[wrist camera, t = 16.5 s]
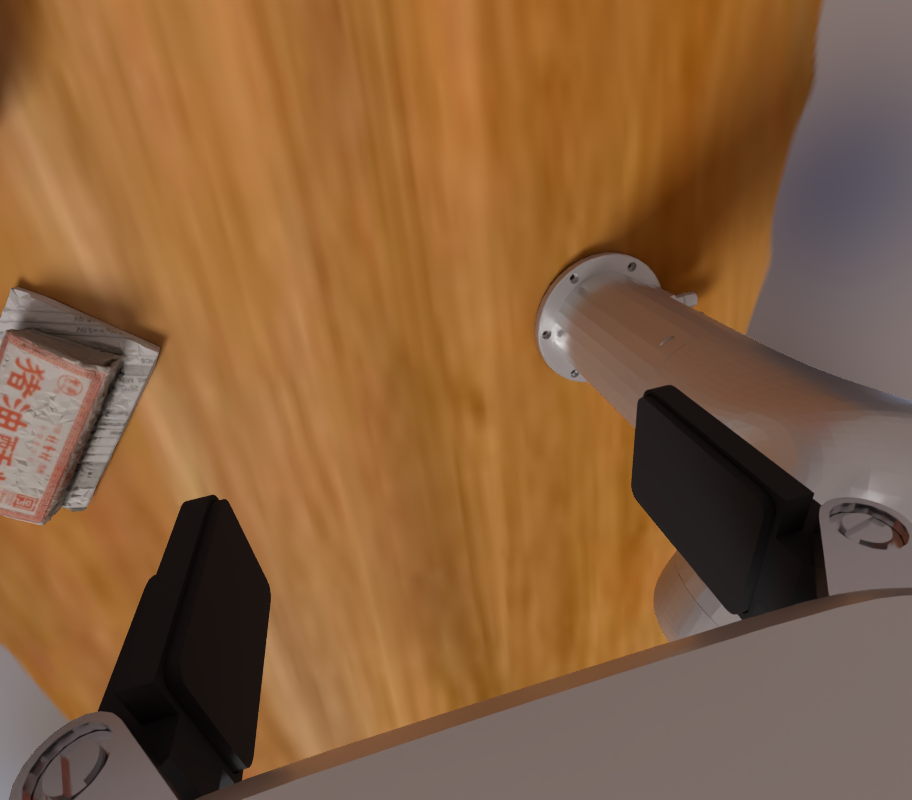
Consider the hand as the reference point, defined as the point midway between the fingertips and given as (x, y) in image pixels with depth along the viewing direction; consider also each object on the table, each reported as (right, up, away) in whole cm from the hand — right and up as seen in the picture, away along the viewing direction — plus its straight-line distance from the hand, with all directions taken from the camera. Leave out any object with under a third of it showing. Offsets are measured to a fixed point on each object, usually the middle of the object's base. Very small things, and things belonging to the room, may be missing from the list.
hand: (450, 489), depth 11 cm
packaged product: (-32, +2, +29) cm, 44 cm away
